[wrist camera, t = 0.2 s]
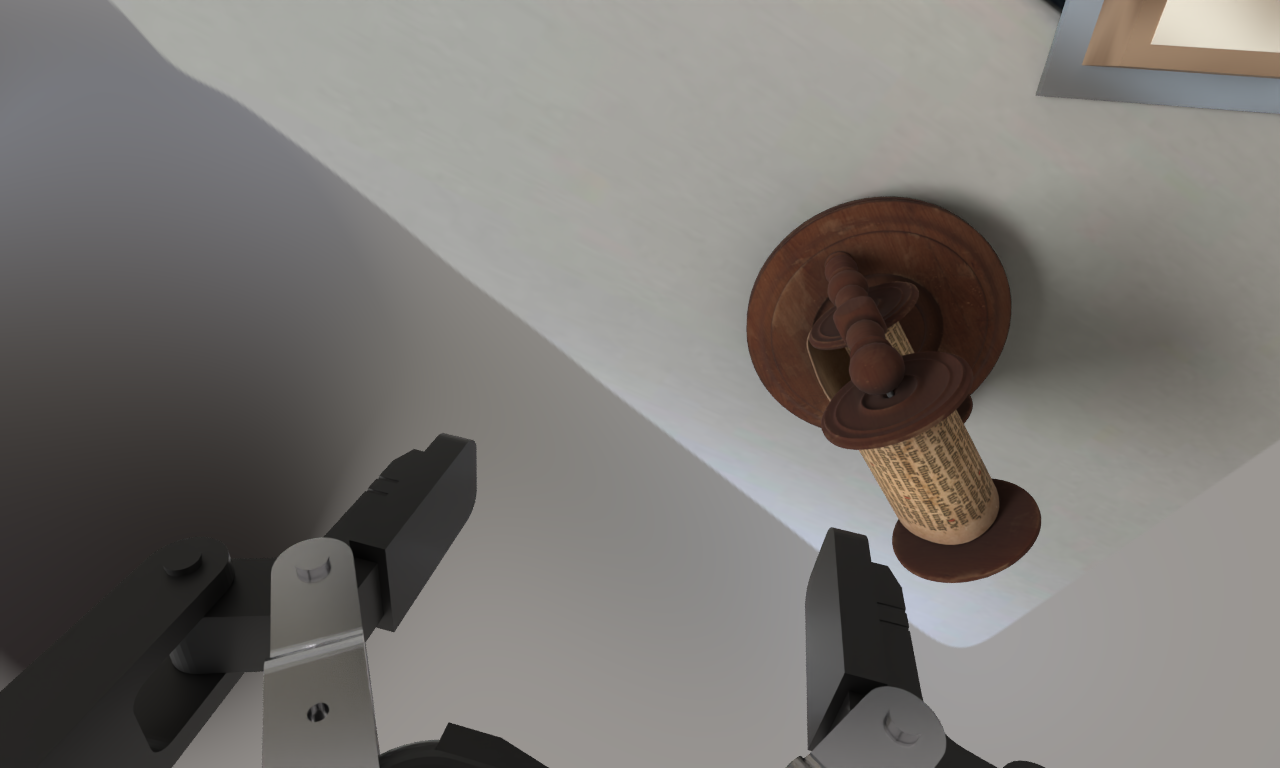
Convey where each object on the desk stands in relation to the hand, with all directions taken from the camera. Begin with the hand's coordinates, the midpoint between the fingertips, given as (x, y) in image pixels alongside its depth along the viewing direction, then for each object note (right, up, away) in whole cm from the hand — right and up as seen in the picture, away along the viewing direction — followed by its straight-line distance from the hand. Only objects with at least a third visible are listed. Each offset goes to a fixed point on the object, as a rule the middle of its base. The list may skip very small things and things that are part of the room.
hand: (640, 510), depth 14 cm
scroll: (+14, +7, +26) cm, 30 cm away
